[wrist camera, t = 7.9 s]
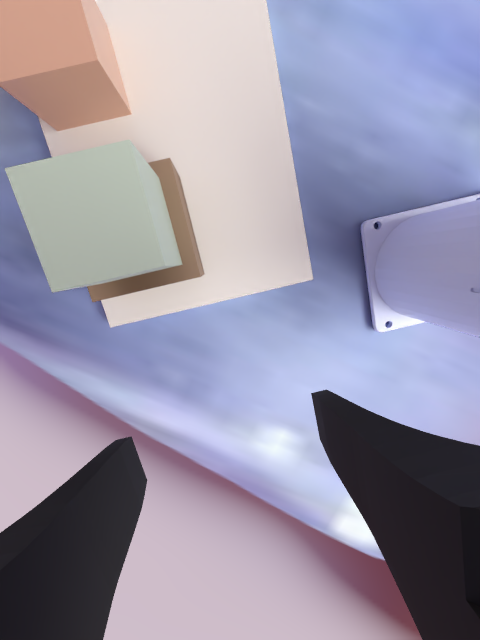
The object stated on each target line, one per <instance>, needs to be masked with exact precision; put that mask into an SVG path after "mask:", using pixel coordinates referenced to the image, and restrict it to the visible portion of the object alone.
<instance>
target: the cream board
mask: <svg viewBox="0 0 480 640" xmlns="http://www.w3.org/2000/svg"><path fill="white" fill-rule="evenodd" d="M95 1H96V3H97V5H98V7H99V9H100V11H101V13H102V15H103V17H104V19H105V21H106V23H107V26H108V30H109V33H110V37H111V41H112V44H113V48H114V51H115V55H116V59H117V62H118V66H119V69H120V73H121V77H122V80H123V84H124V87H125V91H126V95H127V98H128V102H129V106H130V109H131V113H132V114H131V115H127V116H122V117H118V118H114V119H109V120H105V121H101V122H96V123H92V124H88V125H83V126H79V127H75V128H70V129H66V130H62V131H56V130H55V129H54V128H53V127H51V126H50V125H49V124H47V123H46V122H45V121H44V120H42V119H41V118H40V117H39V116H38V118H39V121H40V124H41V127H42V130H43V133H44V136H45V139H46V142H47V145H48V148H49V150H50V153H51V156H52V157H56V156H60V155H64V154H68V153H73V152H77V151H81V150H86V149H90V148H94V147H99V146H103V145H107V144H111V143H116V142H120V141H124V140H129V139H130V141H131V142H132V143H133V145H134V146H135V147H136V148H137V150H138V151H139V152H140V154H141V155H142V156H143V158H144V159H145V160H146V161H147V163H149V162H153V161H158V160H162V159H166V158H170V159H171V161H172V163H173V165H174V166H175V168H176V170H177V172H178V174H179V176H180V179H181V183H182V187H183V191H184V195H185V199H186V203H187V207H188V211H189V214H190V218H191V222H192V226H193V230H194V234H195V238H196V242H197V246H198V250H199V254H200V258H201V262H202V266H203V269H204V273H205V274H204V275H203V276H201V277H198V278H194V279H189V280H185V281H181V282H177V283H172V284H168V285H164V286H160V287H155V288H151V289H147V290H143V291H138V292H134V293H130V294H126V295H121V296H117V297H113V298H109V299H104V300H101V302H102V305H103V308H104V310H105V313H106V316H107V319H108V322H109V325H110V328H111V327H115V326H119V325H123V324H128V323H132V322H136V321H140V320H145V319H149V318H153V317H157V316H162V315H166V314H170V313H174V312H179V311H183V310H187V309H191V308H195V307H200V306H204V305H208V304H212V303H217V302H221V301H225V300H229V299H234V298H238V297H242V296H246V295H251V294H255V293H259V292H263V291H267V290H272V289H276V288H280V287H284V286H289V285H293V284H297V283H301V282H306V281H310V280H313V275H312V269H311V263H310V257H309V251H308V245H307V239H306V233H305V227H304V221H303V216H302V210H301V204H300V198H299V192H298V186H297V180H296V174H295V168H294V162H293V156H292V150H291V145H290V139H289V133H288V127H287V121H286V115H285V109H284V103H283V97H282V91H281V85H280V79H279V73H278V68H277V62H276V56H275V50H274V44H273V38H272V32H271V26H270V20H269V14H268V8H267V2H266V0H95Z"/></svg>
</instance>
